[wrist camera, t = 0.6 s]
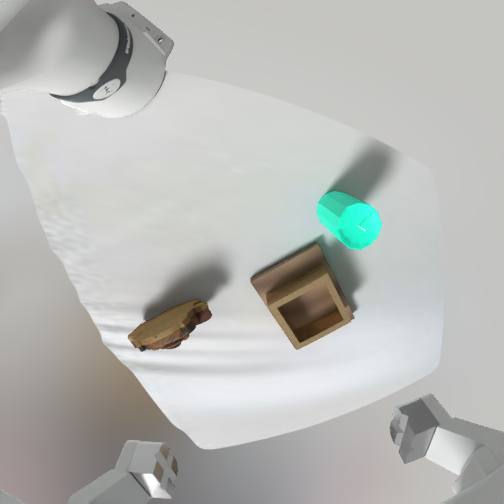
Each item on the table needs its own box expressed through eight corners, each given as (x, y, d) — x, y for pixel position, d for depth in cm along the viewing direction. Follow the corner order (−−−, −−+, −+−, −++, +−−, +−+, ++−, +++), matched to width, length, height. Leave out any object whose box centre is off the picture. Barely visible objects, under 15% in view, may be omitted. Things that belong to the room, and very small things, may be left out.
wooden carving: (149, 339, 51) (134, 374, 41) (133, 322, 49) (115, 355, 40) (219, 302, 48) (214, 337, 39) (203, 281, 47) (194, 313, 37)
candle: (351, 188, 42) (385, 202, 31) (353, 225, 44) (386, 250, 33) (314, 193, 42) (339, 208, 31) (318, 231, 44) (342, 258, 33)
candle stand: (250, 278, 47) (251, 294, 42) (316, 241, 45) (325, 253, 40) (294, 344, 52) (299, 363, 46) (352, 313, 50) (362, 330, 45)
